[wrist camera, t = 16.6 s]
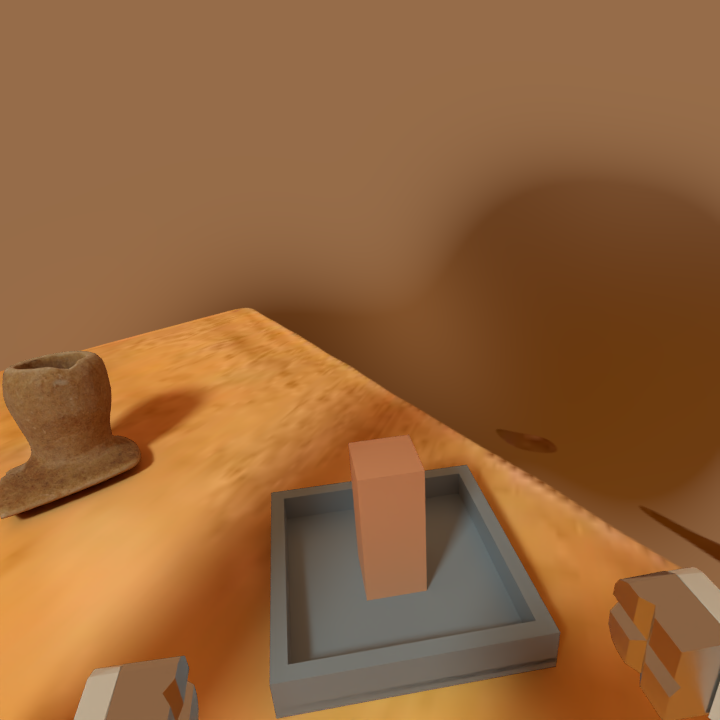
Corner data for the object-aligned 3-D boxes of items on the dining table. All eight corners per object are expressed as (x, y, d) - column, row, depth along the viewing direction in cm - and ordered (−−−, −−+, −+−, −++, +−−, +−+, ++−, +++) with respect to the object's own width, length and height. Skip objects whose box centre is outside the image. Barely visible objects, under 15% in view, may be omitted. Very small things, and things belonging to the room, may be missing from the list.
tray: (276, 718, 36) (269, 684, 35) (276, 520, 55) (271, 492, 53) (555, 666, 39) (560, 632, 37) (466, 492, 57) (466, 464, 55)
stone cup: (125, 434, 72) (95, 330, 66) (152, 474, 63) (121, 359, 57) (-5, 480, 64) (-53, 367, 58) (5, 534, 55) (-50, 407, 49)
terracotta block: (367, 600, 44) (357, 480, 39) (358, 555, 48) (348, 443, 43) (426, 590, 44) (424, 470, 39) (412, 546, 49) (409, 434, 44)
